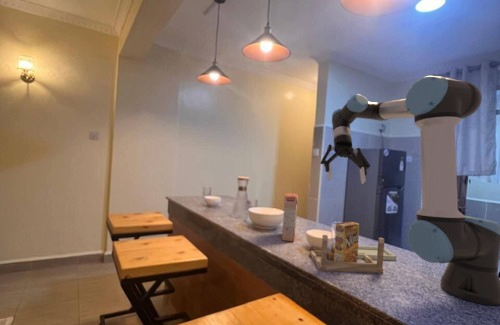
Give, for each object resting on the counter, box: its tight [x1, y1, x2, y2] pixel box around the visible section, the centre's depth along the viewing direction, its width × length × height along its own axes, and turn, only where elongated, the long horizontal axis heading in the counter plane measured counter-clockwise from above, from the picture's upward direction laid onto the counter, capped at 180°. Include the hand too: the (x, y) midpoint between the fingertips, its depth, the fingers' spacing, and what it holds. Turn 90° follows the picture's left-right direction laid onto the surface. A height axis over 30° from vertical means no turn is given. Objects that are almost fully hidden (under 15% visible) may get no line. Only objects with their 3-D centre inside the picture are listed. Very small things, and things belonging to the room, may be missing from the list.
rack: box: [309, 234, 385, 275], centre depth 104 cm, size 16×22×12 cm
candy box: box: [333, 221, 360, 262], centre depth 102 cm, size 9×4×15 cm, turn 125°
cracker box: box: [281, 192, 299, 243], centre depth 134 cm, size 14×6×21 cm, turn 168°
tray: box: [357, 245, 397, 262], centre depth 116 cm, size 12×16×2 cm
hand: (346, 180), depth 113 cm, fingers open, 13 cm apart
